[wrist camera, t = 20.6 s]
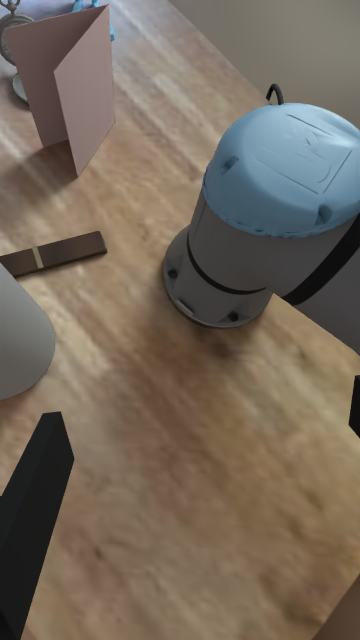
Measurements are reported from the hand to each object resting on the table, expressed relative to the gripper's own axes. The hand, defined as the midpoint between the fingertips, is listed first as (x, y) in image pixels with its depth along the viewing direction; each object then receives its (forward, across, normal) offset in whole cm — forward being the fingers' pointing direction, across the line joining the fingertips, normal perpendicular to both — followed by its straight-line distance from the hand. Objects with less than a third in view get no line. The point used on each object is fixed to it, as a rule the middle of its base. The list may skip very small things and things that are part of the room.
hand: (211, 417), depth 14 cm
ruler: (+30, -21, +2) cm, 36 cm away
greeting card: (+42, -10, +16) cm, 46 cm away
